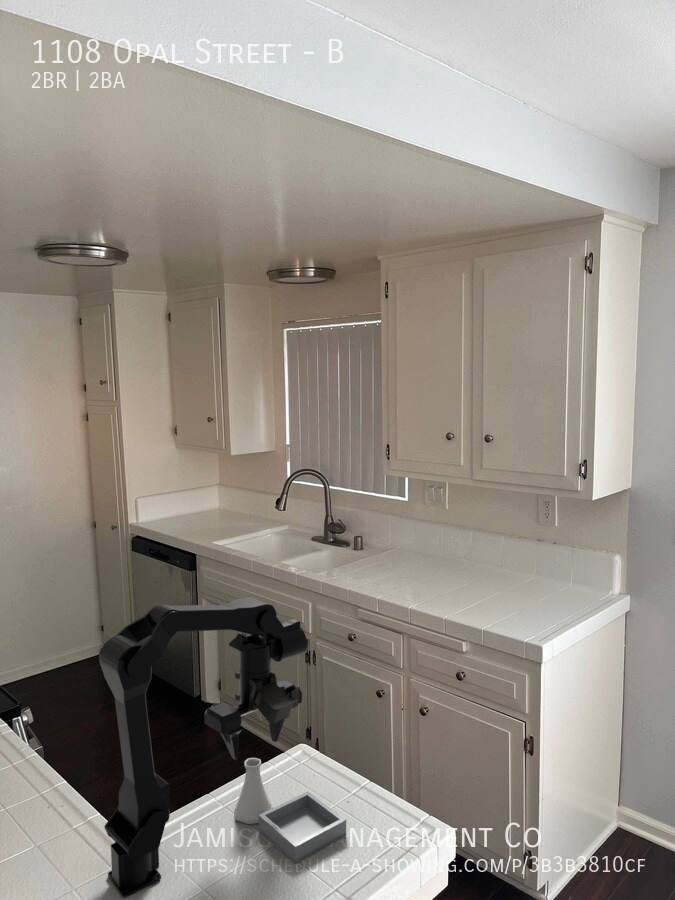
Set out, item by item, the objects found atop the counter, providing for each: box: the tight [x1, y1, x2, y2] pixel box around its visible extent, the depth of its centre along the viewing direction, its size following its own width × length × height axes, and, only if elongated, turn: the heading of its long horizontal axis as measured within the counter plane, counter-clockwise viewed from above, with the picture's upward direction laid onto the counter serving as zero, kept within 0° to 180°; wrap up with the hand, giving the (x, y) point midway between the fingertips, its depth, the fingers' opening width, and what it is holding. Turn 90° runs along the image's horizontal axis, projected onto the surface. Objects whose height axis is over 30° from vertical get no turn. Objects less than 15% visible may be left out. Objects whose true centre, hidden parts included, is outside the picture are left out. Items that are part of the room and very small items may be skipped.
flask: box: [234, 757, 273, 825], centre depth 127 cm, size 7×7×10 cm
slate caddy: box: [258, 791, 347, 865], centre depth 121 cm, size 11×11×3 cm
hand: (255, 749), depth 126 cm, fingers open, 9 cm apart
